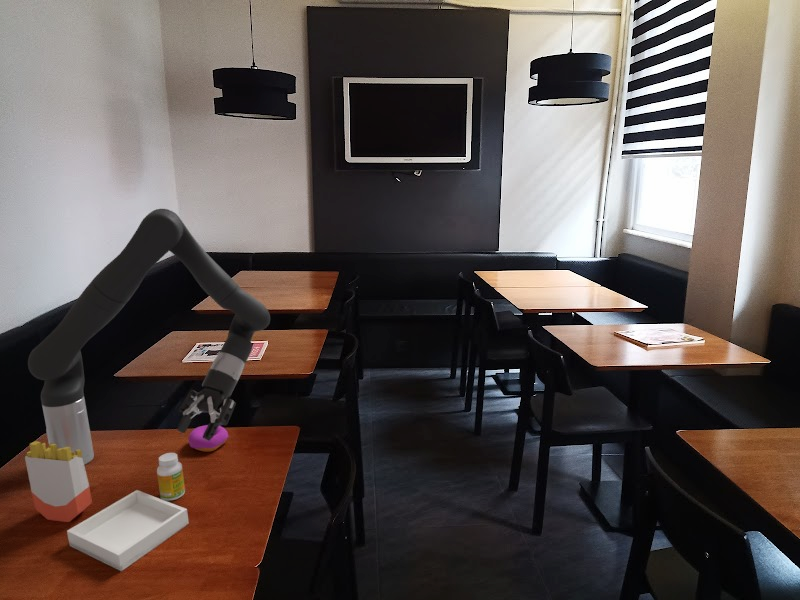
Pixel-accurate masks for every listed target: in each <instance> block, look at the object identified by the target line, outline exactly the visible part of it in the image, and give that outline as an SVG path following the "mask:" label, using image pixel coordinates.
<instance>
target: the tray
mask: <svg viewBox="0 0 800 600" xmlns="http://www.w3.org/2000/svg"><path fill="white" fill-rule="evenodd" d="M188 515H189V514H188V509H187V508H186V507H183V506H179V505H177V504H175V503H172V502H170V501H166V500H163V499H161V498H159V497H156V496H153V495H151V494H148V493H145V492H143V491H141V490H138V489H136V490H134V491H133V492H131V493H129V494H128V495H126V496H124V497H122V498H120V499H119V500H117V501H115V502H114V503H112V504H110V505H109V506H107V507H105V508H103V509H101V510H100V511H98V512H97V513H95V514H93V515H92V516H90V517H88V518H87V519H85V520H82V522H79V523H77V524H76V525H75V526H73V527H71V528H69V529H67V530H66V532H67V539H68V543H69V545H68V546H69V547H71V548H73V549H75V550H77V551H79V552H81V553H83V554H85V555H87V556H89V557H91V558H93V559H95V560H97V561H100V562H101V563H104V564H106V565H107V566H110V567H112V568H114V569H116V570H118V571H120V572H123V571H124V570H125V569H127V568H128V567H129V566H131V565H133V564H134V563H135V562H136V561H138V560H139V559H141V558H142V557H144V556H145V555H146V554H148V553H149V552H151V551H153V549H155V548H157V547H158V546H160V545H161V544H162V543H163V542H165V541H166V540H168V539H169V538H170V537H172V536H173V535H176V533H178V532H179V531H181V530H182V529H183V528H185V527H186V526H187V525H189V516H188Z"/></svg>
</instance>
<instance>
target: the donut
mask: <svg viewBox="0 0 800 600" xmlns="http://www.w3.org/2000/svg"><path fill="white" fill-rule="evenodd" d="M207 426H208V424H205V425H202V426H198V427H196V428H194V429H192V431H191V432H190V434H189V435H188V443H189V447H190V448H193V449H194V450H197V451H200V452H207V453H208V452H209V453H210V452H214V451H215V450H218V448H219V447H221V446H222V445H224V444H226V442H227V440H228V439H229V434H228V431H227V430H226V429H225V428H224V427H223V426H222V425H220V426H218V428H217V430H216V432H215V434H214V436H213V438H212V439H211V440H210V441H208V440H206V439H204V438H203V434H204V432H205V430H206V428H207Z"/></svg>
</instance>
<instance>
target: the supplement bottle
mask: <svg viewBox="0 0 800 600" xmlns="http://www.w3.org/2000/svg"><path fill="white" fill-rule="evenodd" d="M158 464H159V465H158V467H157V468H156V475H157V476H156V477H157V482H158V488H159V489H158V490H159V496H160V499H162V500H164V501H167V502H170V501H174V500H178V499H179V498H181V497H183V496H184V494H185V492H186V486H185V479H184V471H183V464H182V463H181V462H180V461H179V457H178V454H177V453H175V452H166V453H164V454H162V455H160V456H159V457H158Z"/></svg>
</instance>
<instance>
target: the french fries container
mask: <svg viewBox="0 0 800 600" xmlns="http://www.w3.org/2000/svg"><path fill="white" fill-rule="evenodd" d="M46 446H47V447H46ZM29 449H30V450H29V451H27V452H26V455H25V456H24V459H25V464H26V471H27V474H28V475H27V476H28V480H29V484H30V485H29V486H30V490H31V496H32V501H33V505H34V506H33V507H34V509H35V510H36V511H37V512H38V513H39V514H41V515H42V516H43V517H44V519H46V520H48V521H54V522H55V521H56V522H57V521H58V522H64V523H70V522H71V521H72V520H74V519H75V518H76V517H78V516H79V515H80V514H81V513H83V512H84V510H86V509H87V508H88V507H89V506H90V505H91V504H92V503H93V499H92V494H91V493H92V492H91V488H90V483H89V479H88V475H87V472H86V471H87V470H86V467H85V465H84V463H83V458H82V450H76V451H75V455H74V452H72V451H71V447H64V448H59V449H58V450H57V445H56V444H53V443H51V444H49V443H48V445H47V444H46V442H41V441H36V440H34V441H33V442H30V443H29Z"/></svg>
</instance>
